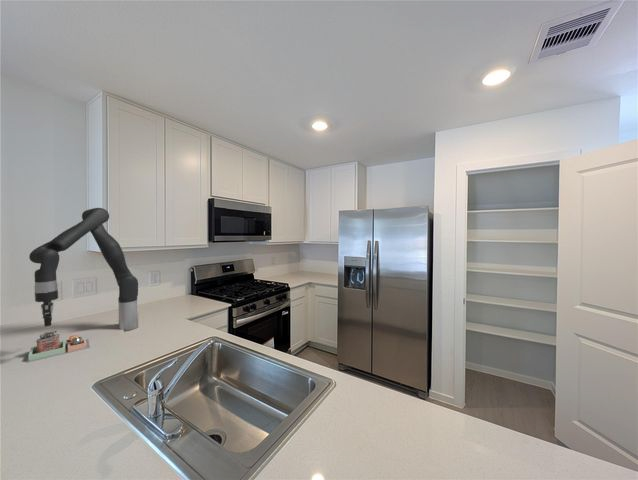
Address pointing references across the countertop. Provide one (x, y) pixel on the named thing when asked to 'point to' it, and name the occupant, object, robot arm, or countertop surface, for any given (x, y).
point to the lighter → (48, 341)
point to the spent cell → (76, 340)
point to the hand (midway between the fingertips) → (48, 323)
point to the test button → (72, 337)
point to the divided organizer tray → (57, 350)
